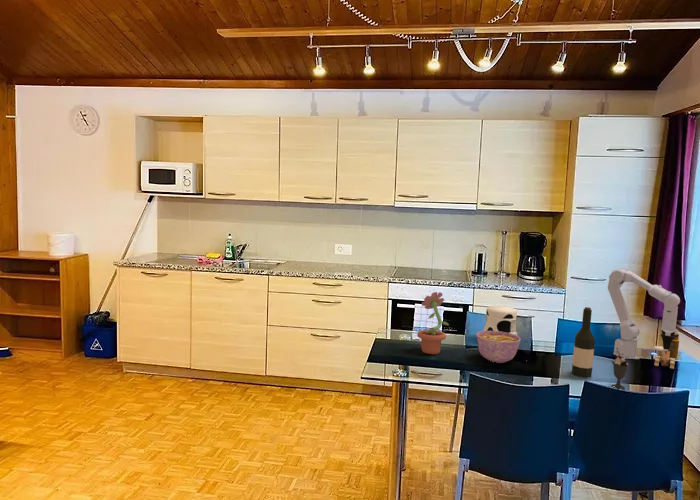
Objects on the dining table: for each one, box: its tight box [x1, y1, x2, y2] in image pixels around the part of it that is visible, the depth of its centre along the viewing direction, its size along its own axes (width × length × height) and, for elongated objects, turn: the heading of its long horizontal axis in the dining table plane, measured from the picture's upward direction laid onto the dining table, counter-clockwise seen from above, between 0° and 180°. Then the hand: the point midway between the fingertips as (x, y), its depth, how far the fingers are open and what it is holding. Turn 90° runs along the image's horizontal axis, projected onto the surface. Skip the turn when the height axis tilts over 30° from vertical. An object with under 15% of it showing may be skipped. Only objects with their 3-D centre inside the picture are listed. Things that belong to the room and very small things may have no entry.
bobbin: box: [652, 345, 668, 360], centre depth 264 cm, size 6×6×6 cm
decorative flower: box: [416, 291, 450, 355], centre depth 257 cm, size 15×14×30 cm
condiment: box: [668, 332, 681, 360], centre depth 269 cm, size 7×8×12 cm
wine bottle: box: [571, 306, 596, 379], centre depth 234 cm, size 8×8×30 cm
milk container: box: [482, 305, 518, 336], centre depth 282 cm, size 17×17×18 cm
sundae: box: [611, 350, 630, 390], centre depth 221 cm, size 7×7×15 cm
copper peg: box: [660, 350, 670, 367], centre depth 255 cm, size 3×3×7 cm
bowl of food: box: [476, 330, 521, 364], centre depth 250 cm, size 20×20×12 cm
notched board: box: [653, 354, 676, 370], centre depth 256 cm, size 10×8×2 cm
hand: (666, 347), depth 254 cm, fingers open, 7 cm apart
